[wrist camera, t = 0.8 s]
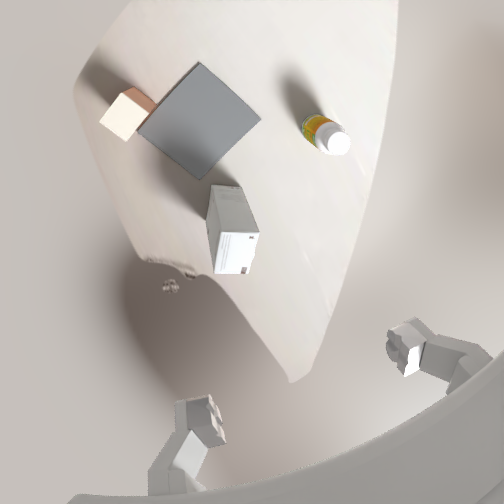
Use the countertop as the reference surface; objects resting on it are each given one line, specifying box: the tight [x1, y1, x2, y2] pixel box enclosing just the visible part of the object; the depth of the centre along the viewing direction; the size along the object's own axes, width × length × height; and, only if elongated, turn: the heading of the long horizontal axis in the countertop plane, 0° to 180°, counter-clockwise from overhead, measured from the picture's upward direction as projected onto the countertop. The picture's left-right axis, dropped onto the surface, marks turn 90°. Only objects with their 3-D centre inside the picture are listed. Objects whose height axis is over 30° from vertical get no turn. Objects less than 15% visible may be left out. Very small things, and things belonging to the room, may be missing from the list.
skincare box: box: [206, 184, 260, 274], centre depth 48 cm, size 8×6×15 cm
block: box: [99, 87, 157, 142], centre depth 36 cm, size 5×5×9 cm
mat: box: [138, 63, 261, 180], centre depth 43 cm, size 15×14×1 cm
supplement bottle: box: [302, 114, 350, 156], centre depth 44 cm, size 5×5×10 cm
